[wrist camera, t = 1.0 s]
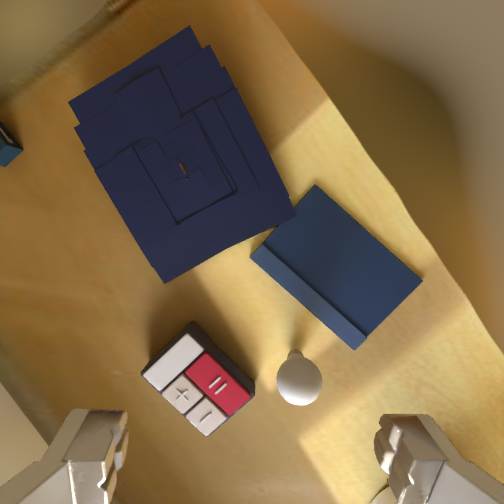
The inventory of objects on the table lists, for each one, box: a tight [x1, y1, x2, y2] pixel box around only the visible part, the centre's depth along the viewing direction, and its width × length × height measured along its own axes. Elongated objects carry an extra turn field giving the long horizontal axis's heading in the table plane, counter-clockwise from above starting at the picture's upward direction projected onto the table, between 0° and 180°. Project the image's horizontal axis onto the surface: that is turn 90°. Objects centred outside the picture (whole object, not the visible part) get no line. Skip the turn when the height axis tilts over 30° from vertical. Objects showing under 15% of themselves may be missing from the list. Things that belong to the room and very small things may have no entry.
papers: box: [68, 25, 297, 284], centre depth 46 cm, size 24×30×4 cm
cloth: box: [250, 185, 423, 350], centre depth 47 cm, size 22×15×1 cm
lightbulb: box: [277, 350, 322, 405], centre depth 44 cm, size 6×6×11 cm
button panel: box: [141, 321, 255, 437], centre depth 49 cm, size 11×4×15 cm
